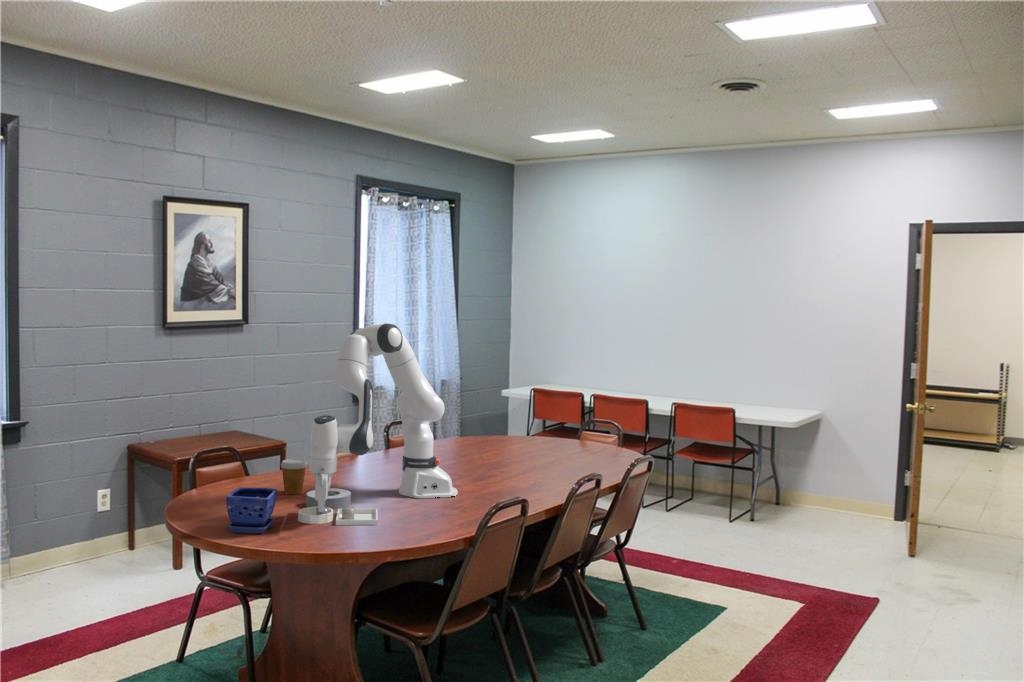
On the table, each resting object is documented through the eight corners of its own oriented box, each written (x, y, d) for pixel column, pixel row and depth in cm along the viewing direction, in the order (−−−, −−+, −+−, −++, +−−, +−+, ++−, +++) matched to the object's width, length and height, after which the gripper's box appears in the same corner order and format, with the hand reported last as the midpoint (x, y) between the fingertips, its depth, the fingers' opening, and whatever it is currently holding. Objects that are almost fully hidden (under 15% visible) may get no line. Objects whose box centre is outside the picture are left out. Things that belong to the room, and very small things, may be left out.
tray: (377, 515, 283) (377, 508, 283) (377, 527, 269) (377, 520, 269) (337, 515, 281) (338, 508, 281) (335, 527, 267) (335, 520, 266)
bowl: (333, 517, 279) (334, 506, 279) (331, 526, 268) (332, 515, 268) (299, 517, 277) (300, 506, 277) (296, 526, 266) (297, 515, 266)
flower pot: (278, 524, 268) (279, 487, 267) (267, 536, 255) (268, 497, 254) (236, 523, 268) (237, 486, 267) (223, 534, 254) (224, 496, 254)
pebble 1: (328, 517, 275) (328, 507, 275) (327, 520, 271) (328, 510, 271) (316, 517, 275) (316, 506, 274) (315, 520, 271) (315, 510, 270)
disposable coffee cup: (311, 491, 313) (311, 460, 312) (298, 497, 304) (298, 464, 303) (288, 489, 316) (289, 457, 315) (274, 494, 306) (275, 462, 306)
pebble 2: (354, 517, 277) (354, 506, 276) (354, 520, 273) (354, 510, 272) (342, 517, 276) (342, 506, 276) (341, 520, 272) (341, 510, 272)
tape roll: (307, 513, 283) (307, 498, 283) (305, 502, 298) (305, 488, 297) (352, 512, 287) (353, 497, 287) (348, 501, 302) (349, 487, 302)
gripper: (331, 472, 262) (330, 516, 263) (334, 459, 282) (333, 500, 283) (311, 472, 261) (309, 516, 262) (315, 459, 281) (314, 500, 282)
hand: (322, 507), depth 273 cm, fingers open, 8 cm apart
